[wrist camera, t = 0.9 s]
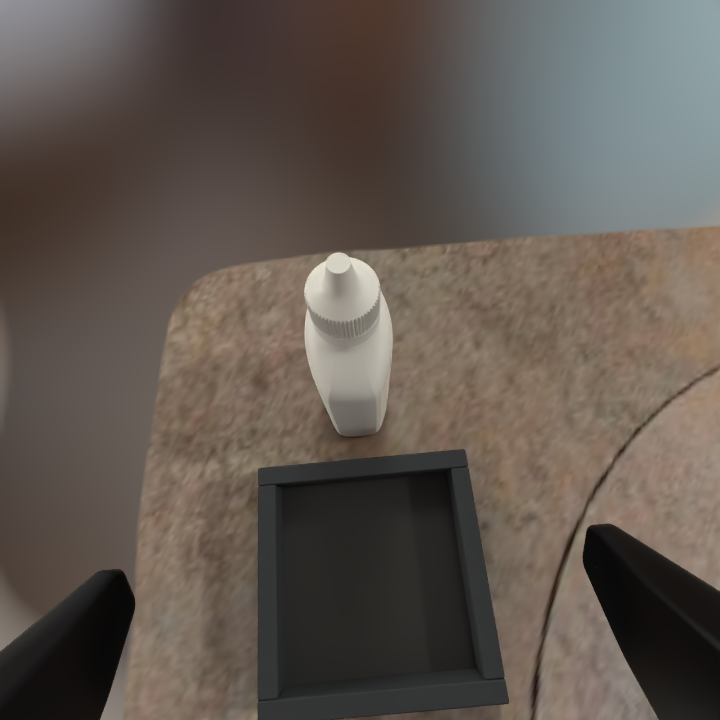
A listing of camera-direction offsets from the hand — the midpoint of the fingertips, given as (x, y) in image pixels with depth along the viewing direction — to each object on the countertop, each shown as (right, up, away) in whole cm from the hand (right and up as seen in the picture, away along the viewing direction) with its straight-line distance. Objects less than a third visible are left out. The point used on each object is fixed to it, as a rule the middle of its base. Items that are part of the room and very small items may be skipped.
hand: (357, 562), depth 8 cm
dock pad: (+1, -6, +12) cm, 13 cm away
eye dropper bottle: (0, +2, +15) cm, 15 cm away
